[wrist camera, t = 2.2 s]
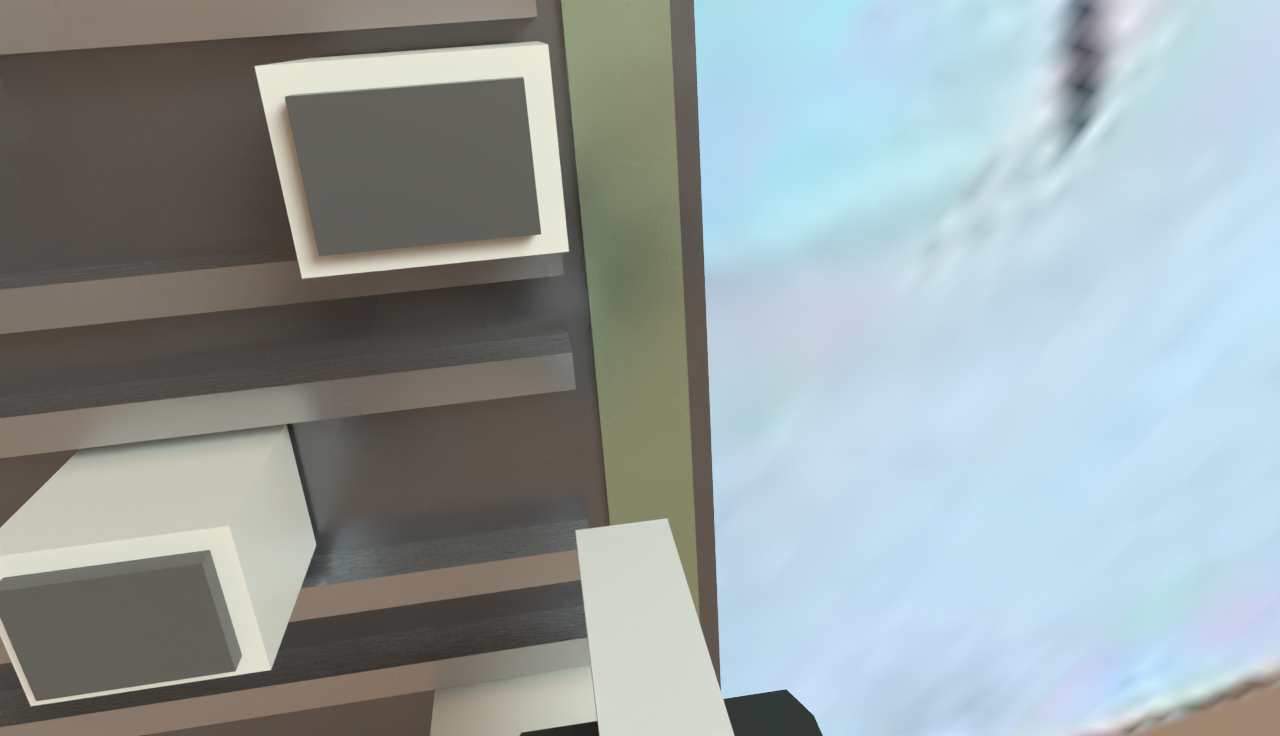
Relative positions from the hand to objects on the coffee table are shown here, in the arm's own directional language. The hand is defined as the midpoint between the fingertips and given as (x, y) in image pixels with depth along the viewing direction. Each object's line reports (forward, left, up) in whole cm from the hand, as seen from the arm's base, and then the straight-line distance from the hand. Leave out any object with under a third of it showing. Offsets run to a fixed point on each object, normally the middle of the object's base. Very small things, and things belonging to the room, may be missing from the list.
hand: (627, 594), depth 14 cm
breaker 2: (-2, +7, -5) cm, 9 cm away
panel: (-7, 0, -8) cm, 11 cm away
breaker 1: (-8, 0, -5) cm, 10 cm away
